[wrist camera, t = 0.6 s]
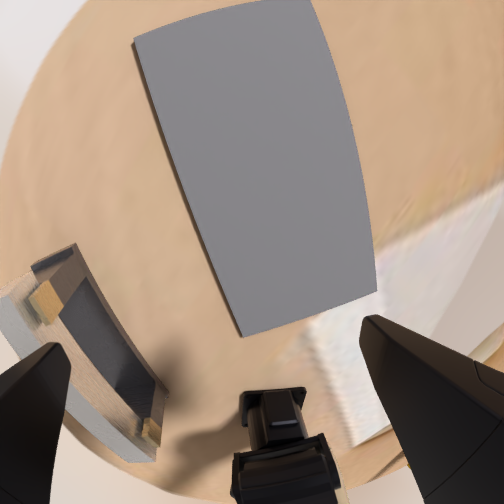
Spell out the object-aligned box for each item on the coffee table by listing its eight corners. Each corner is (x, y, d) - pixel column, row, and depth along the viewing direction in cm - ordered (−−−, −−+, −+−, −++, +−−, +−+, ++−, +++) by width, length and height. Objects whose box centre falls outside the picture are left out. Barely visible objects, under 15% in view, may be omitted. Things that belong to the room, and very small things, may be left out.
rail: (157, 435, 22) (155, 461, 19) (131, 437, 22) (127, 462, 19) (31, 270, 14) (7, 294, 11) (7, 282, 14) (-16, 305, 12)
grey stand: (168, 391, 26) (163, 449, 20) (128, 398, 26) (117, 451, 20) (75, 242, 19) (29, 289, 13) (34, 262, 19) (-11, 307, 13)
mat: (375, 288, 24) (377, 291, 23) (243, 334, 24) (243, 337, 23) (306, -3, 14) (307, -5, 13) (134, 39, 14) (133, 38, 14)
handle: (325, 431, 33) (357, 524, 19) (339, 444, 35) (367, 524, 21) (293, 445, 33) (317, 537, 19) (310, 457, 36) (333, 536, 22)
